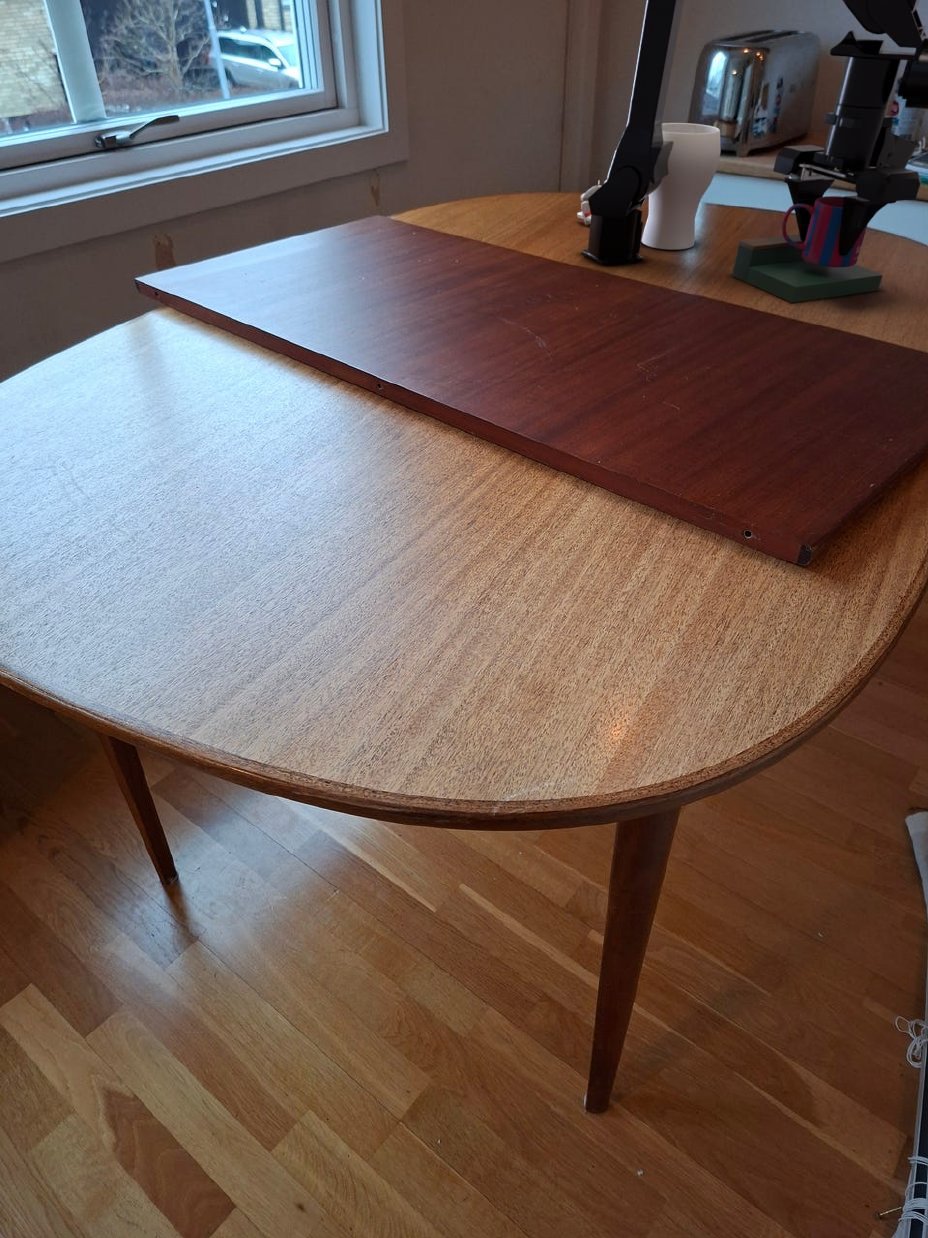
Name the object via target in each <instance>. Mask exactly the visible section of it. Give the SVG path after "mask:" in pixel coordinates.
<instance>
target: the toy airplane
mask: <svg viewBox="0 0 928 1238" xmlns="http://www.w3.org/2000/svg"><path fill="white" fill-rule="evenodd" d="M605 182H607V179H606V180H604V182H603V184H604V183H605ZM600 183H601V182H600V180H598V183H597V185H593V186H592V187H591V188H589V189H588V190H586V192H584V193H582V194H581V195H580V201H582V202H581V204H580V209H581V211H579V212H577V213H576V215H577V218H578V219H581V220H583V221H584V224H585V225H586V226H590V223H591V212H590V208H589V203H588V198H589V197H590V196H591V195H592V194H593V193H595V192H596V191H597V190H598V189H599V188H600V187H601V186H602V185H600Z"/></svg>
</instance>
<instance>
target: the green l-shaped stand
mask: <svg viewBox="0 0 928 1238" xmlns="http://www.w3.org/2000/svg"><path fill="white" fill-rule="evenodd" d="M787 235H788V237H789V238H790V239H791V240H792V241H793V242H795V243H798V244H804V242H805V241H801V239H800V234H799V233H796V234H787ZM802 252H803V250H799V249H797V248H794V247H793V246H791V245H790V244H788V243H787V242H786V240H785V239H784V237H783V235H778V236H777V235H776V236H769V237H760V238H751V239H742V240H739V241H738V246H737V251H736V255H735V256H736V257H735V261H734V266H733V269H732V270H733V271H732V277H734V278H736V279H738V280H740V281H743V282H745V283H747V284H749V285H752V286H754V287H756V288H758V289H760V290H762V291H764V292H767V293H769V294H771V295H773V296H776V297H778V298H780V299H782V300H784V301H786V302H789V303H790V304H795V303H801V302H808V301H815V300H822V299H828V298H829V299H830V298H835V297H843V296H850V295H855V294H856V295H858V294H864V293H865V294H866V293H871V292H877V291H879V289H880V285H881V283H882V279H883V274H882V273H878V272H876V271H874V270H871V269H868V268H866V267H862V266H860V265H857V264H855V265H853V266H850V267H826V266H820V265H816V264H812V263H809V262H807V261H805V260H803V258H802Z"/></svg>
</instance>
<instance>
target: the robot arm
mask: <svg viewBox="0 0 928 1238" xmlns="http://www.w3.org/2000/svg"><path fill="white" fill-rule="evenodd" d="M684 2H685V0H646V4H645V8H644V9H645V10H644V17H643V22H642V30H641V35H640V41H639V47H638V53H637V61H636V68H635V73H634V80H633V86H632V92H631V98H630V104H629V110H628V111H629V112H628V117H627V122H626V125H625V128H624V130H623V133H622V135H621V137H620V139H619V141H618V144H617V146H616V148H615V150H614V154H613V156H612V161H611V163H610V166H609V170H608V173H607V177H606V180H607V182H605V181H604V182H605V183H604V182H603V184H602V185H601V187H600V188H599V189H598V190H597V191H596V192H595V193H593V194H592V195H591V196H590V197H589V198H588V203H589V208H590V212H591V223H590V224H589V235H588V242H587V243H588V244H587V249H581V255H583V256H585V257H587V258H589V259H590V260H592V261H595V262H596V263H597V264H600V265H603V266H610V265H611V266H612V265H618V264H627V263H628V264H629V263H636V262H637V263H638V262H642V261H643V259H644V256H641V255H640V251H641V243H642V236H643V230H644V229H643V228H644V222H643V221H642V218H643V210H642V209H641V210H640V209H638V208H641V207H643V206H644V204H645V202H646V200H647V198H648V197H649V195H650V194H651V193H652V192H654V191H655V190H656V189H657V188H658V187H659V185H660V184H661V181H662V178H664V177H665V176H667V175H668V174H669V173H668V159H669V156H670V153H671V150H672V147H673V141H663V133H662V123H663V119H664V114H665V113H664V112H665V107H666V102H667V96H668V90H669V85H670V80H671V74H672V69H673V63H674V58H675V51H676V46H677V41H678V37H679V36H678V35H679V30H680V24H681V20H682V19H681V18H682V15H683V8H684ZM842 2H843V4H844V5H845V6H846V8H847V9H848V10H849V12H850V13H851V14H852V15H853V17H854V18H855V20H856V21H857V22H858V23H859V24H860V26H861V27H862V28H863V29H864V30H865V31H866V32H868V33H870V34H872V35H873V34H874V35H887V36H888V37H889V38H890V39H891V40H892V41H893V42H894V43H895V44H896V45H897V46H898V47H899V48H908V49H915V52H906V51H892V50H884V47H885V40H884V39H872V38H871V39H870V38H869V39H868V38H859V36H858V35H857V34H856V31H855V30H854V29H851V30H848V32H847V33H846V35H845V36H844V37H843V38H842V40H841V41H840V42H839V43H837V44H836V45H834V46H833V47H832V48H830V50H829V55H830V56H831V57H846V60H845V64H844V68H843V71H842V76H841V80H840V84H839V88H838V91H837V96H836V101H835V104H834V108H833V112H825V113H824V117H823V121H822V123H823V124H827V125H829V127H828V131H827V136H826V140H825V144H824V147H822V146H818V145H814V144H805V145H803V144H802V145H790V146H789V145H788V146H787V145H786V146H783V147H782V148H781V149H780V151H779V152H777V154H776V156H775V161H774V165H773V171H772V172H774V173H778V174H781V175H783V176H785V177H784V178H783V183H785V184H786V185H787V188H788V191H789V195H790V198H791V201H792V206H793V205H795V204H800V203H802V204H807V205H810V206H812V207H814V205H815V201H816V199H817V198H820V197H824V195H825V194H826V192H827V190H829V189H830V187H831V186H832V185H833V184H834V182H835V181H836V180H838V181H841V182H844V183H848V184H852V185H854V186H855V187H854V189H855V192H856V195H845V196H843V197H844V199H843V209H842V219H841V228H840V238H839V255H841V256H844V255H847V254H848V253H849V252H850V250H851V249H852V247H853V246H854V244H855V243H856V241H857V240H858V238H859V236H860V235H861V233H862V232H863V230H864V229H865V227H866V226H867V227H868V225H869V223H870V222H871V220H872V219H873V218H874V216H875V215H876V214H877V213H879V211H880V210H882V209H883V208H884V207H886V206H887V205H891V204H896V202H902V201H911V200H912V201H913V200H916V199H917V196H918V193H919V189H920V187H921V182H922V179H921V176H920V174H919V172H918V171H916V170H912V169H908V168H906V167H907V166H908V164H909V162H910V160H911V159H912V156H913V155H914V153H915V151H916V149H917V147H918V146H917V145H915V144H914V143H912V142H910V141H909V140H907V139H905V138H904V137H902V136H900V135H897V134H895V133H893V132H892V129H893V126H894V116H890V115H887V112H888V109H889V106H890V101H891V97H892V93H893V91H894V87H895V83H896V80H897V77H898V73H899V69H900V65H901V62H902V61H906V62H905V66H904V70H903V73H902V76H901V80H900V82H899V83H900V84H899V87H898V92H897V95H896V96H897V98H901V100H905V104H904V109H913V110H914V109H915V110H926V111H928V36H927V33H926V25H923V23H922V21H921V17H920V15H919V11H918V9H917V8H918V5H919V3H920V0H842ZM793 211H794V214H795V219H796V224H797V229H798V234H800V239H801V241H805V239H806V235H807V231H808V228H809V224H810V220H811V214H810V213H809V211H808V210H806V209H805V208H797V209H794V210H793ZM867 224H868V225H867Z"/></svg>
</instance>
